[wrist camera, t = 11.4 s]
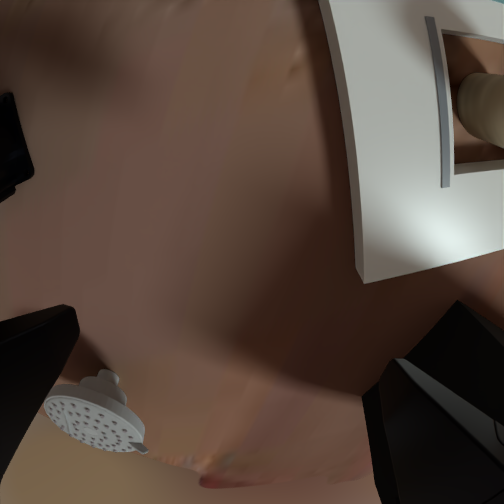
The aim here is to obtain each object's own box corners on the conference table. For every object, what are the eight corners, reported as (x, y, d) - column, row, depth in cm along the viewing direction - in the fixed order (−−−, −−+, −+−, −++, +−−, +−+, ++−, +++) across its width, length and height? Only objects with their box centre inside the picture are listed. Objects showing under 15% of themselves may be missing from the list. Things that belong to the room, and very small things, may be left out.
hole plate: (300, -60, 11) (306, -74, 9) (542, -9, 9) (558, -10, 7) (355, 267, 22) (364, 285, 20) (551, 220, 20) (565, 230, 18)
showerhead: (143, 470, 24) (49, 438, 22) (154, 413, 30) (69, 385, 29) (152, 433, 20) (30, 389, 18) (166, 363, 26) (63, 329, 24)
